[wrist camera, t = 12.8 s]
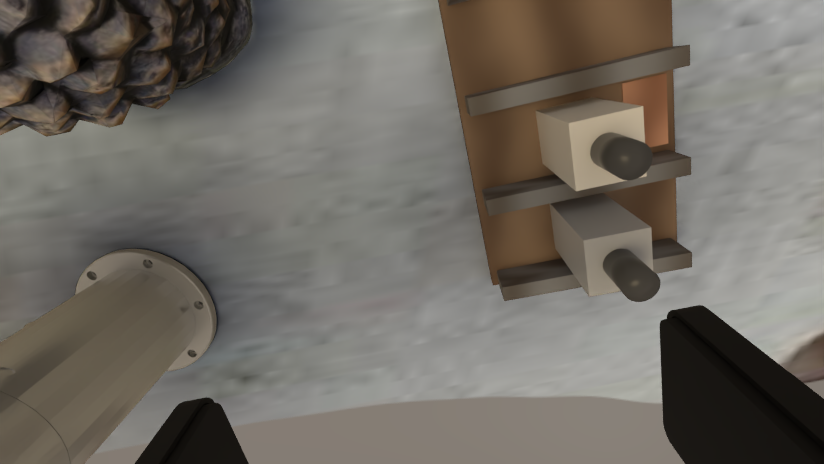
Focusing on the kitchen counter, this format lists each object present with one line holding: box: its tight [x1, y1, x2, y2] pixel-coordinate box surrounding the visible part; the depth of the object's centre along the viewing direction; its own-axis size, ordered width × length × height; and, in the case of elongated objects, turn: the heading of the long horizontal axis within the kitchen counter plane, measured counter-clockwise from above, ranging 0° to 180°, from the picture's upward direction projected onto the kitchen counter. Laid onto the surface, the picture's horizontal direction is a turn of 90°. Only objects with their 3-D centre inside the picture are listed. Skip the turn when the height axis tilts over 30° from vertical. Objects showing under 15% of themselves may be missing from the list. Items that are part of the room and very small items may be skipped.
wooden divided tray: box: [438, 0, 692, 301], centre depth 31 cm, size 15×23×4 cm, turn 13°
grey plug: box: [550, 193, 660, 302], centre depth 29 cm, size 4×4×11 cm
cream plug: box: [536, 97, 653, 191], centre depth 26 cm, size 4×4×11 cm
